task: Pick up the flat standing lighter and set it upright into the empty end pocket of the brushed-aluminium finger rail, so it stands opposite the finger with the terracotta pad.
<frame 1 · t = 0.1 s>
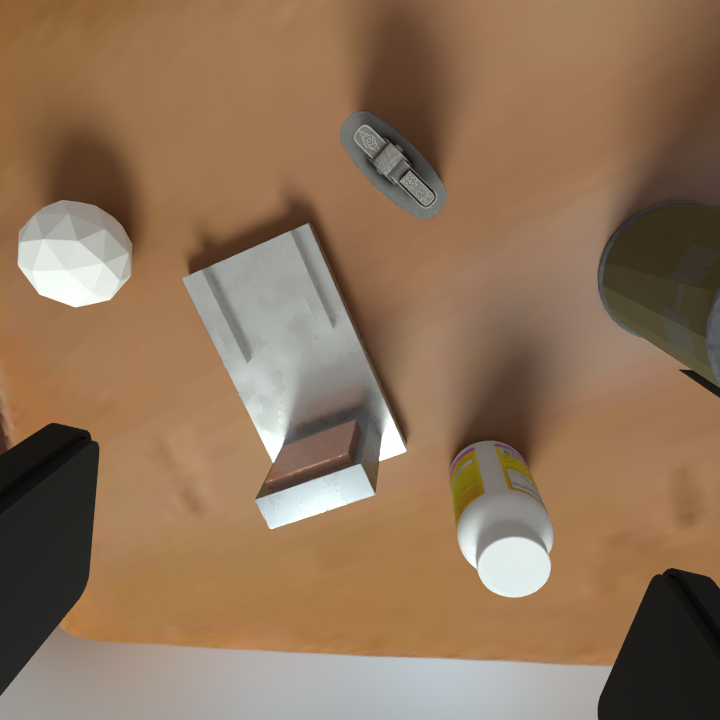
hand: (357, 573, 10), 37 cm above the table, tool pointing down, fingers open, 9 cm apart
geometric ball: (104, 248, 47), on the table
finger rail: (300, 362, 48), on the table
supplement bottle: (487, 472, 49), on the table
lighter: (396, 169, 43), on the table
canister: (667, 274, 44), on the table
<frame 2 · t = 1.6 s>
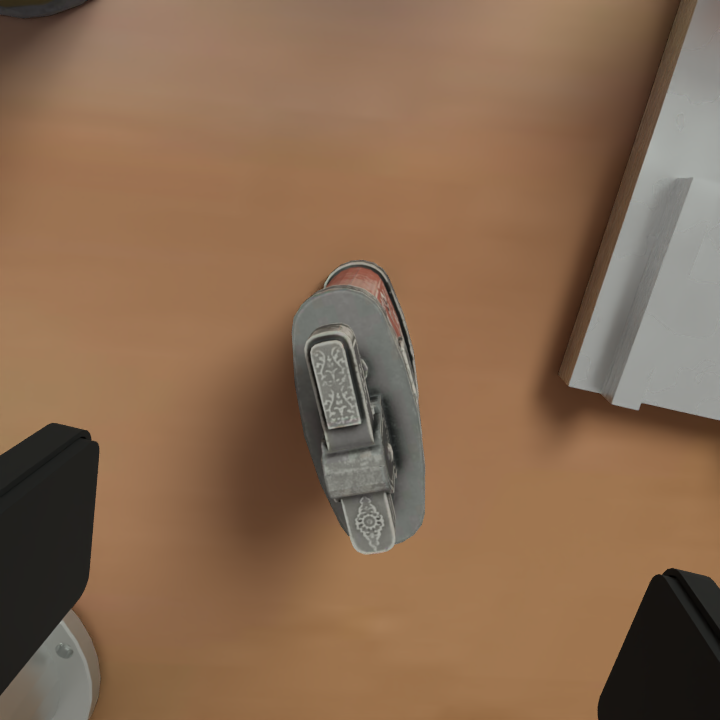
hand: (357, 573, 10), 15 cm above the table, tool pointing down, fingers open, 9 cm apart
lighter: (373, 355, 24), on the table
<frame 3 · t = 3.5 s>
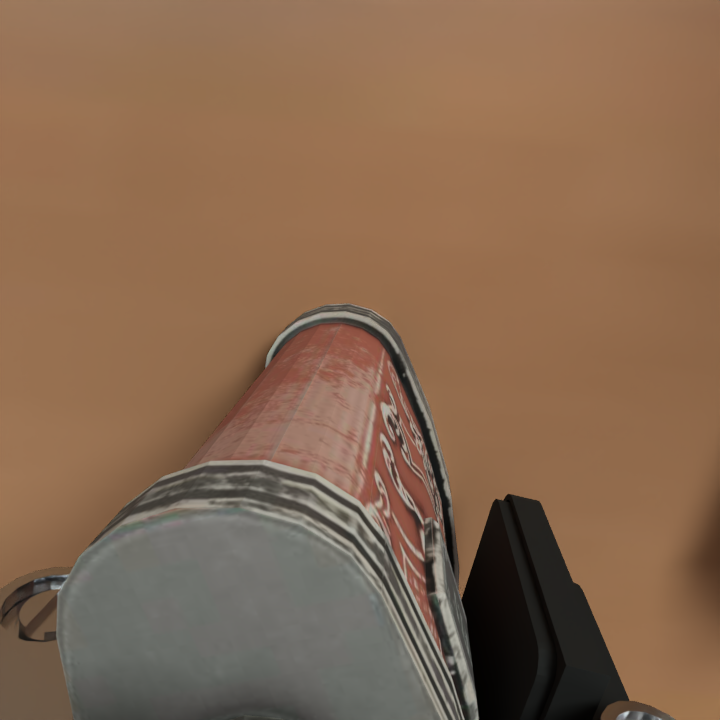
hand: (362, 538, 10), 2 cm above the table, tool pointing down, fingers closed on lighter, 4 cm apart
lighter: (369, 483, 12), on the table, touching gripper
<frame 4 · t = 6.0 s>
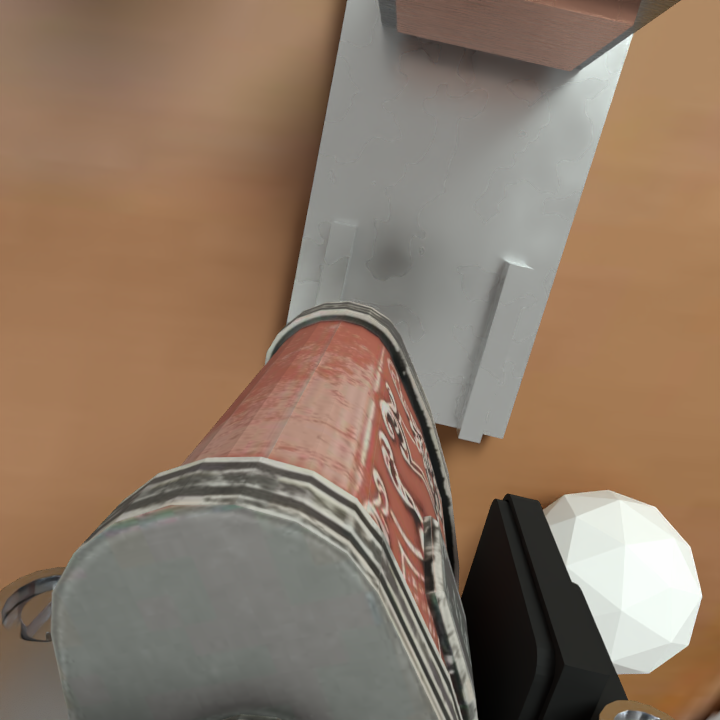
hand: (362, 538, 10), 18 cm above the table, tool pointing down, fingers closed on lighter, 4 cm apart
geometric ball: (577, 529, 30), on the table
finger rail: (441, 195, 26), on the table
lighter: (369, 481, 12), point 16 cm above the table, touching gripper
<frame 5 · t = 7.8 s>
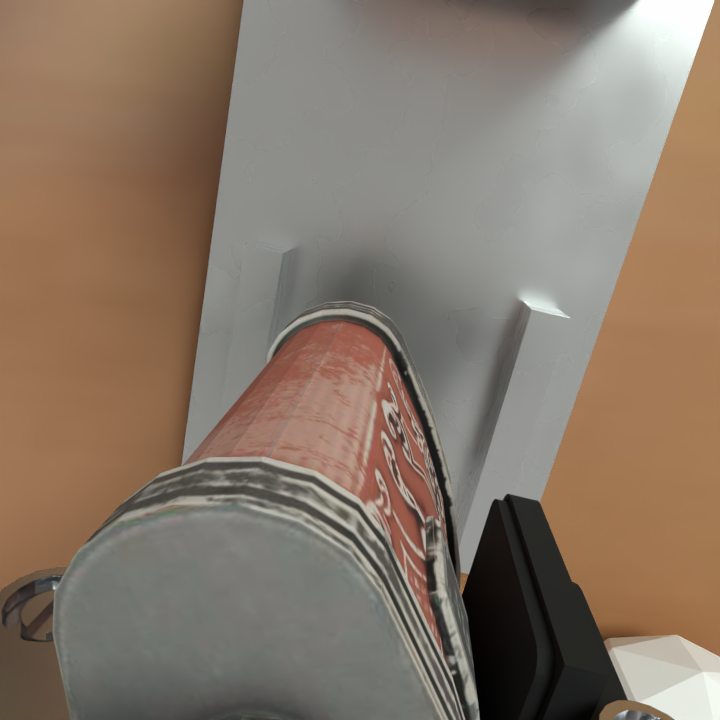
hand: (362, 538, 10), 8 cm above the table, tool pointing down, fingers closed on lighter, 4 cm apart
geometric ball: (625, 673, 21), on the table
finger rail: (423, 200, 17), on the table
lighter: (371, 481, 12), point 6 cm above the table, touching gripper
when the fingers open (4 cm above the table, at t = 9.1 s): lighter stays where it is, resting on finger rail.
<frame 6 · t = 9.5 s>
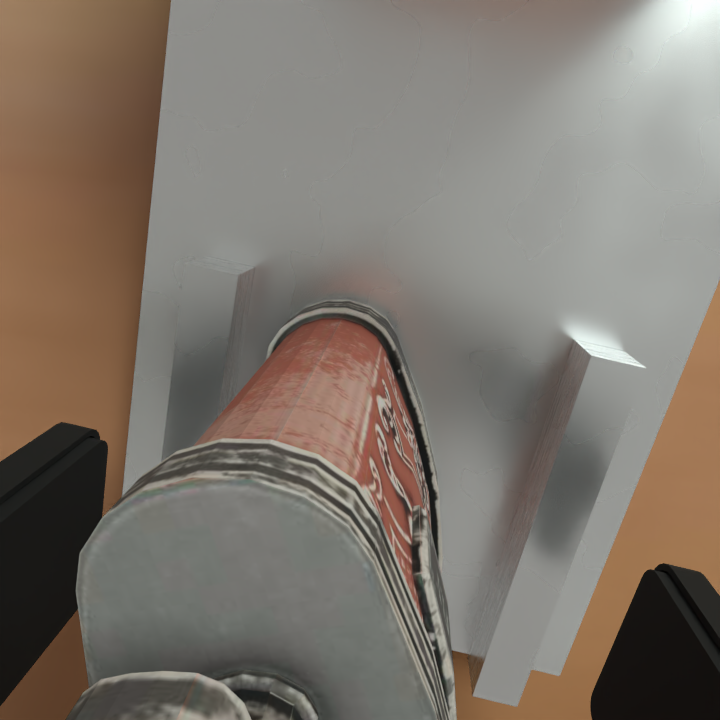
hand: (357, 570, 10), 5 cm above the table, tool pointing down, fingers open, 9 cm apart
finger rail: (435, 199, 12), on the table
lighter: (360, 474, 13), point 1 cm above the table, touching finger rail
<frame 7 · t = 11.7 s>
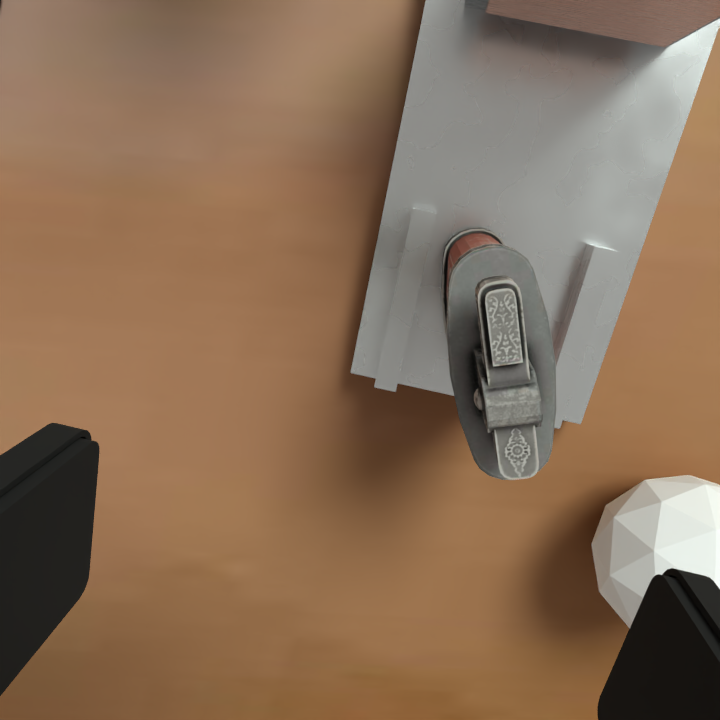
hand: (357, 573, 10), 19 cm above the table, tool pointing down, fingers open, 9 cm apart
geometric ball: (652, 514, 30), on the table
finger rail: (518, 179, 25), on the table
lighter: (480, 317, 26), point 1 cm above the table, touching finger rail
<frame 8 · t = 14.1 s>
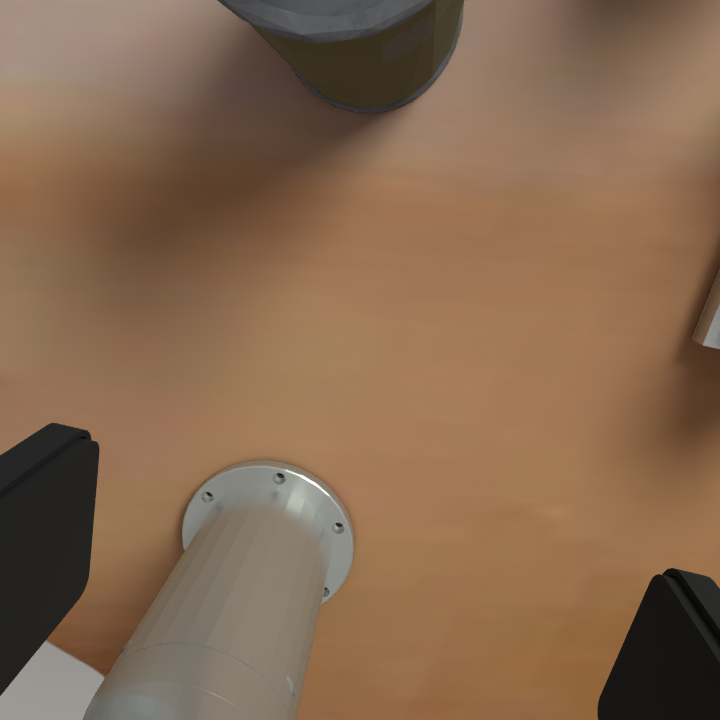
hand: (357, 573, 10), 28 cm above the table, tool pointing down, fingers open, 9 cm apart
canister: (371, 10, 32), on the table
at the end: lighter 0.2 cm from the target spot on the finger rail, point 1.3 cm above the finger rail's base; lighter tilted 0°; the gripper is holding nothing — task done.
